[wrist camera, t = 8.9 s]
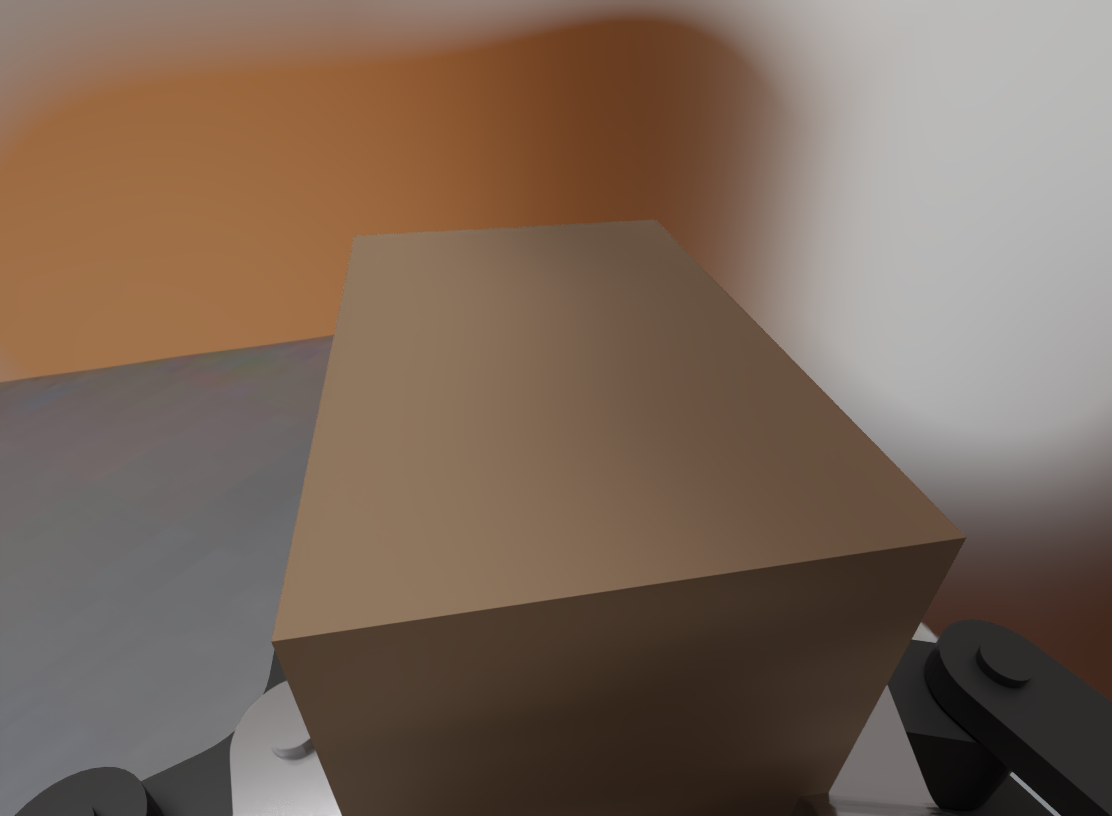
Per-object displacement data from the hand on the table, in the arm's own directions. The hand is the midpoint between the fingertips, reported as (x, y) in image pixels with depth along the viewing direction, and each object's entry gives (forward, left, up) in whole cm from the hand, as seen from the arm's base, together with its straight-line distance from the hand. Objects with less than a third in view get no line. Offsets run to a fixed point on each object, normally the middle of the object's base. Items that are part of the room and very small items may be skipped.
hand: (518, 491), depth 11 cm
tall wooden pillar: (0, -3, -6) cm, 7 cm away
